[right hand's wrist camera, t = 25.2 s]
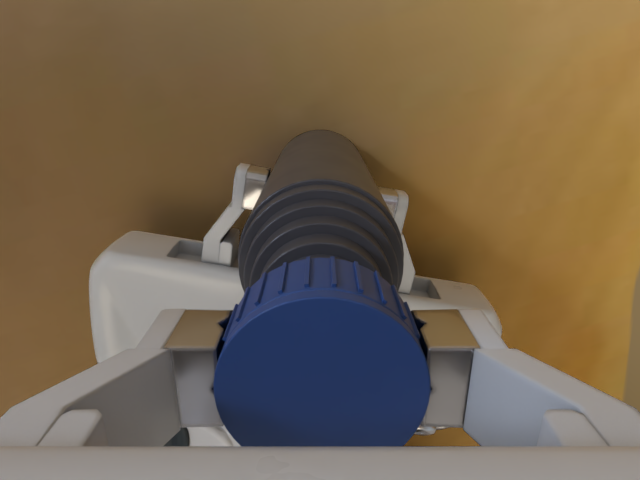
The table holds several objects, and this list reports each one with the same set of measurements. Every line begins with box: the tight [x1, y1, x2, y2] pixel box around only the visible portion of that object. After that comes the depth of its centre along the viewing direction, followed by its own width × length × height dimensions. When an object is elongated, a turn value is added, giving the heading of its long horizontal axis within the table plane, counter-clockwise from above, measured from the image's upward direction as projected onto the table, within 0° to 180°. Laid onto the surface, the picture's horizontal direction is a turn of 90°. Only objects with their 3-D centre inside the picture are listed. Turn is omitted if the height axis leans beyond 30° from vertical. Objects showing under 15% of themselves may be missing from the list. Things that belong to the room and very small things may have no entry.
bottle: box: [238, 130, 404, 293], centre depth 17 cm, size 5×5×18 cm
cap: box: [213, 256, 431, 446], centre depth 9 cm, size 4×4×2 cm
